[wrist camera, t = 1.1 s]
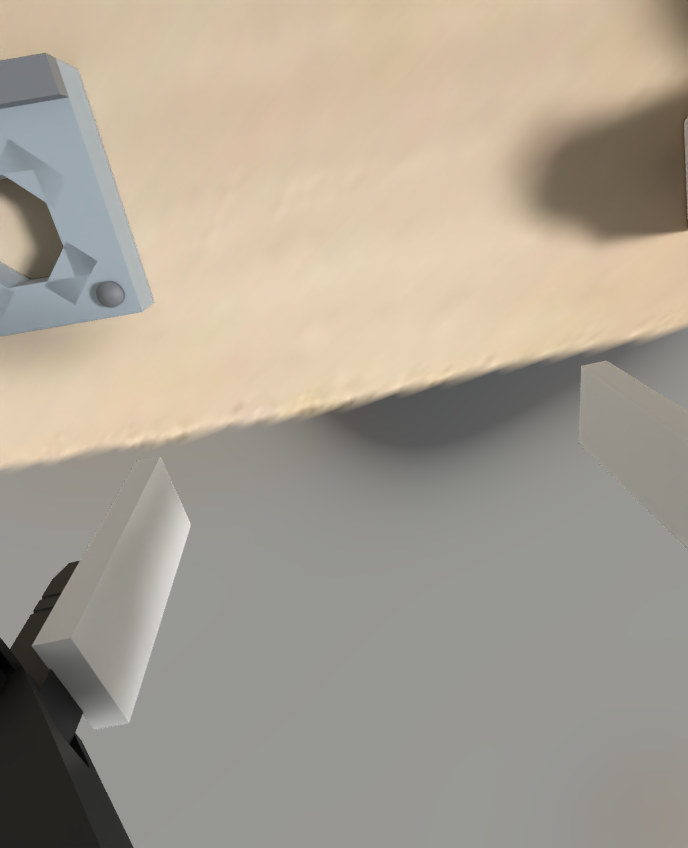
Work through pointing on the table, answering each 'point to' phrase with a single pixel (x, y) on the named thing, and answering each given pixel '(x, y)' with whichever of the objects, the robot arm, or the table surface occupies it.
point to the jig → (65, 202)
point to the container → (686, 155)
